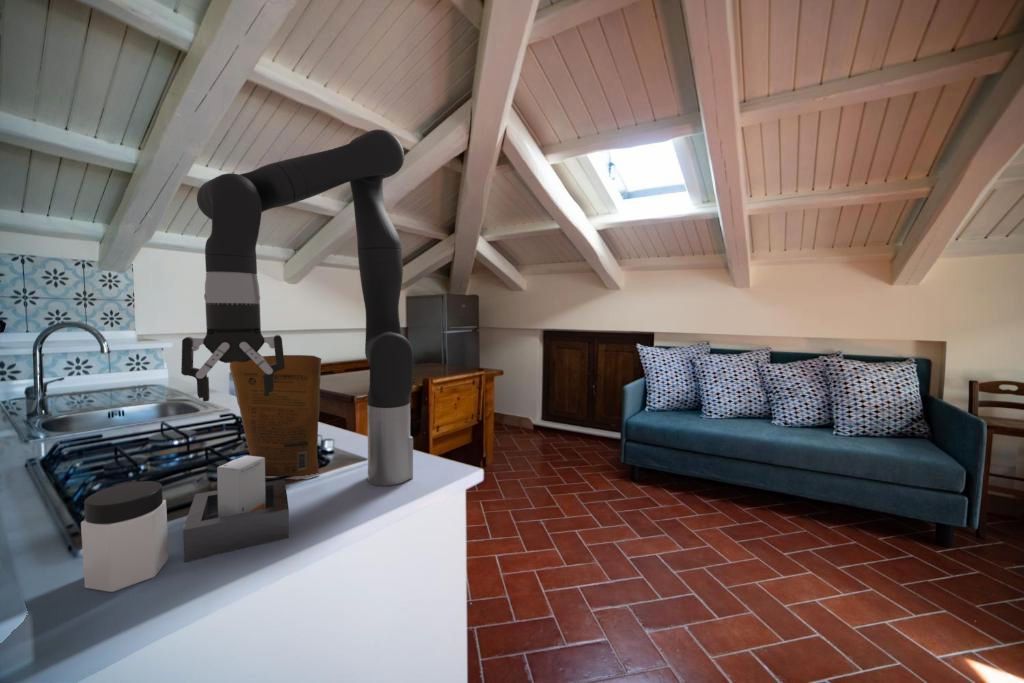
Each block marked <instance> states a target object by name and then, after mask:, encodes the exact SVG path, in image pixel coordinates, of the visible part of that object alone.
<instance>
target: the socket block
mask: <svg viewBox="0 0 1024 683" xmlns="http://www.w3.org/2000/svg"><path fill="white" fill-rule="evenodd" d="M286 485H287V484H286V480H285V479H274V480H270V481H269V480H268V481H265V506H266V508H265V509H260V510H255V511H250V512H245V513H240V514H235V515H230V516H225V517H219V518H218V489H216V490H211V491H204V492H199V493H195V494H194V497H193V500H192V502H191V505H190V507H189V511H188V514H187V517H186V520H185V523H184V526H183V528H182V540H183V541H182V542H183V544H182V545H183V546H182V547H183V563H187V562H191V561H195V560H201V559H205V558H210V557H212V556H213V557H214V556H216V555H221V554H227V553H230V552H234V551H239V550H243V549H247V548H252V547H256V546H260V545H264V544H269V543H273V542H277V541H282V540H286V539H290V509H289V507H290V506H289V502H288V501H289V500H288V492H287V486H286Z"/></svg>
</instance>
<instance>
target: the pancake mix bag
mask: <svg viewBox="0 0 1024 683" xmlns="http://www.w3.org/2000/svg"><path fill="white" fill-rule="evenodd" d="M283 355H284V365H285V367H284V369H282V370H279V371H276V372H275V373H274V374H273V391H272V392H269V396H264V373H265V372H264V371H263V370H262V369H261V368H260V367H259V366H258V365H257V364H256V363H255V362H254V361H253V360H252V359H251V360H249V361H247V362H237V361H235V362H231V363H229V369H230V374H231V378H232V381H233V385H234V390H235V395H236V402H237V405H238V408H239V413H240V418H241V421H242V426H243V431H244V434H245V435H244V437H245V441H246V446H247V449H248V452H249V456H256V457H265V476H305V475H311V474H316V473H320V469H319V463H318V452H317V451H318V441H319V438H318V437H319V419H320V404H321V403H320V402H321V400H320V399H321V394H320V392H321V391H320V389H321V387H320V386H321V364H322V358H320V357H318V356H316V355H311V354H310V355H309V354H307V355H306V354H305V355H304V354H283ZM261 356H262V357H263V358H264V359H265V360H266V361H267V362H268V364H269V365H272V364H275V363H276V358H275V355H261Z"/></svg>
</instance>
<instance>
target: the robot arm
mask: <svg viewBox="0 0 1024 683" xmlns="http://www.w3.org/2000/svg"><path fill="white" fill-rule="evenodd" d="M404 161H405V153H404V148H403V145H402V144H401V142H400V140H399V139H398V138H397V137H396V136H395V135H394V134H393V133H392V132H390V131H387V130H385V129H379V128H378V129H373V130H369V131H367V132H365V133H363V134H361V135H358V136H356V137H355V138H353V139H352V140H351V141H350V142H349V143H346V144H344V145H341V146H337V147H334V148H332V149H330V148H329V149H327V150H323V151H319V152H315V153H314V152H313V153H309V154H305V155H301V156H296V157H291V158H287V159H284V160H280V161H276V162H272V163H268V164H265V165H262V166H260V167H258V168H256V169H254V170H252V171H249V172H244V173H240V174H239V173H232V172H229V173H224V174H220V175H218V176H215V177H214V178H212V179H210V180H208V181H206V182H204V183H203V184H202V185H201V186H200V187H199V189H198V191H197V194H196V202H197V206H198V208H199V210H200V212H201V213H202V214H203V215H205V217H206V218H208V219H210V220H211V233H210V235H209V237H208V238H207V239H206V241H205V248H204V255H205V256H204V258H205V260H204V261H205V262H204V263H205V282H204V296H203V298H204V300H205V320H206V321H205V323H206V324H205V325H206V334H205V337H192V336H186V337H184V338H183V339H182V341H181V342H182V343H181V371H180V372H181V374H182V375H183V376H186V377H187V376H189V377H193V378H195V379H196V389H197V390H196V391H197V397H198V399H202V401H203V402H209V401H210V378H209V376H208V373H209V372H210V371H211V370H212V369H213V368H214V366H215V365H216V364H217V363H218V361H220V362H222V363H224V364H230V363H231V362H235V361H237V362H247V361H249V360H251V359H252V360H253V361H254V362H255V363H256V364H257V365H258V366H259V367H260V368H261V369H262V370H263V371H264V372H265V373H264V396H269V392H272V391H273V374H274V373H275V372H276V371H279V370H282V369H284V367H285V365H284V355H285V354H284V347H283V339H282V336H281V335H279V334H276V335H275V334H274V335H272V336H264V335H263V334H262V329H261V328H262V326H261V302H260V301H261V296H260V294H261V293H260V285H259V281H258V280H259V279H258V266H257V250H256V249H257V244H258V243H257V242H258V239H259V233H260V228H261V227H260V226H261V222H262V221H261V220H262V213H263V212H266V211H268V210H271V209H275V208H281V207H285V206H289V205H293V204H295V203H298V202H301V201H304V200H307V199H310V198H312V197H315V196H318V195H320V194H322V193H325V192H327V191H329V190H332V189H334V188H337V187H338V186H341V185H344V184H346V183H349V184H350V189H351V194H352V200H353V201H352V202H353V207H354V219H355V220H354V221H355V230H356V242H357V243H356V244H357V246H356V247H357V258H358V270H359V278H360V284H361V289H362V290H361V292H362V296H363V297H362V298H363V302H364V308H365V310H364V311H365V343H364V344H365V345H364V346H365V347H364V354H365V358H366V361H367V363H368V364H369V388H368V391H367V396H366V397H367V404H366V405H367V481H368V482H369V483H370V484H371V485H376V486H382V487H383V486H384V487H385V486H395V485H399V484H401V483H404V482H406V481H408V480H410V479H411V480H412V479H413V478H414V437H413V436H412V435H411V396H412V392H413V387H414V386H413V385H414V351H413V350H414V349H413V346H412V344H411V342H410V341H409V340H408V338H406V337H405V336H403V334H402V328H401V322H400V311H399V308H400V307H399V306H400V297H401V292H402V291H401V290H402V287H403V276H404V274H403V272H404V268H403V267H404V266H403V253H402V252H403V250H402V244H401V240H400V237H399V234H398V231H397V230H396V227H395V225H394V224H393V222H392V219H390V216H389V215H388V212H387V209H386V206H385V201H384V191H383V190H384V189H383V188H384V186H383V185H384V184H383V183H384V182H383V180H384V179H387V178H390V177H392V176H394V175H396V174H397V173H398V172H399V171H400V170H401V169H402V168H403V165H404V163H405V162H404ZM265 343H266V344H267V345H268V347H269V348H270V349H274V356H275V358H276V363H275V364H272V365H269V364H268V362H267V361H266V360H265V359H264V358H263V357H262V356H263V355H261V354H260V352H259V351H260V350H261V348H262V347H263V345H264V344H265ZM201 345H203V346H204V347H205V348H206V349H207V350H208V351H209V352H210V353H211V356H210V357H209V358H207V360H206V361H205V362H204V364H202V366H201V367H200V368H198V367H194V352H196V351H198V350H199V349H200V346H201Z"/></svg>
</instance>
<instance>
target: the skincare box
mask: <svg viewBox="0 0 1024 683" xmlns="http://www.w3.org/2000/svg"><path fill="white" fill-rule="evenodd" d="M216 478H217V480H216V481H217V482H216V483H217V484H216V485H217V486H216V488H217V490H218V518H219V517H225V516H230V515H235V514H240V513H245V512H250V511H255V510H260V509H265V508H266V506H265V482H266V479H265V457H256V456H250V455H247V454H246V455H243V456H240V457H239V458H236V459H233V460H230V461H229V462H226V463H224V464H222V465H219V466H217V467H216Z"/></svg>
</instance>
